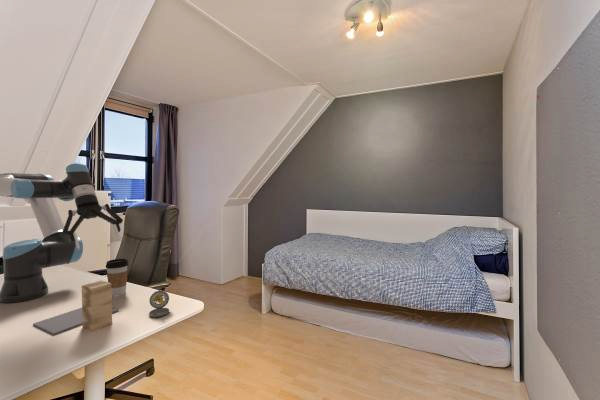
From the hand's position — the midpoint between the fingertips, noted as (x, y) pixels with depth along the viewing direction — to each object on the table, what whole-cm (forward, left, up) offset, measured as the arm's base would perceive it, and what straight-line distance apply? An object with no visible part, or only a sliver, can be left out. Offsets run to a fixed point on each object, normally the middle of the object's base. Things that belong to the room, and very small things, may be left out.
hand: (99, 244), depth 114 cm
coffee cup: (-2, +8, -24) cm, 25 cm away
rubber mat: (+9, -12, -24) cm, 28 cm away
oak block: (+21, -12, -24) cm, 34 cm away
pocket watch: (+31, +4, -24) cm, 39 cm away
